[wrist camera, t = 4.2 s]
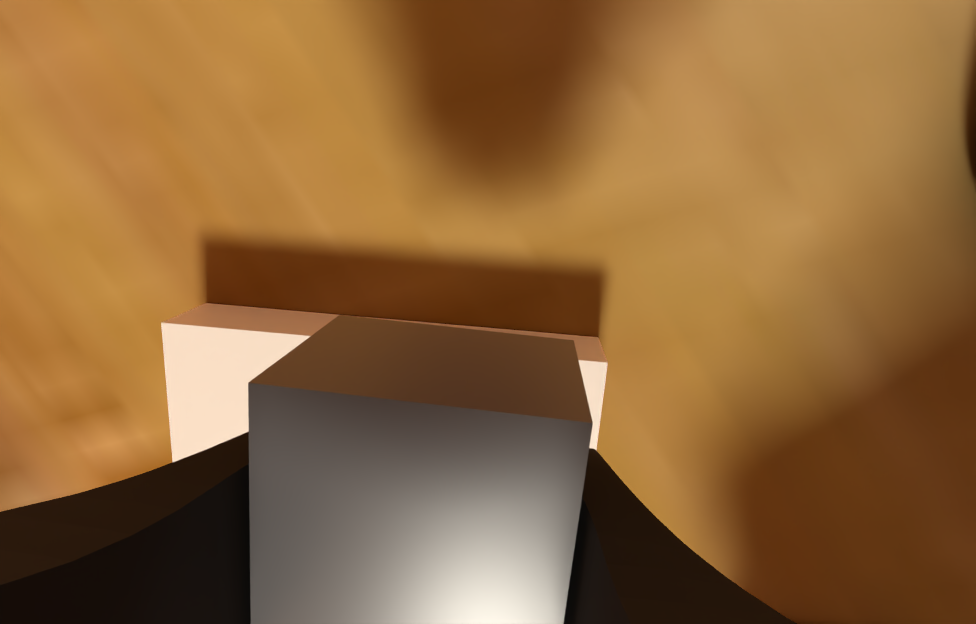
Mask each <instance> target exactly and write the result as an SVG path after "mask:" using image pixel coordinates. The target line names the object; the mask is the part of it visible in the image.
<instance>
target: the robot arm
mask: <svg viewBox="0 0 976 624" xmlns="http://www.w3.org/2000/svg"><path fill="white" fill-rule="evenodd" d="M0 624H251V601H250V509H249V432H246V433H244V434H241V435H239V436H237V437H234V438H232V439H230V440H227V441H225V442H223V443H220V444H218V445H216V446H213V447H211V448H209V449H206V450H204V451H201V452H198V453H196V454H193V455H191V456H188V457H185V458H183V459H180V460H178V461H175V462H172V463H170V464H167V465H165V466H162V467H159V468H157V469H154V470H152V471H149V472H146V473H143V474H140V475H137V476H134V477H131V478H128V479H125V480H122V481H119V482H115V483H112V484H109V485H105V486H102V487H99V488H95V489H92V490H88V491H85V492H81V493H78V494H74V495H70V496H66V497H62V498H58V499H53V500H49V501H45V502H40V503H36V504H32V505H28V506H23V507H19V508H15V509H11V510H6V511H2V512H0ZM563 624H796V623H795V622H793V621H791V620H790V619H788V618H786V617H785V616H783V615H781V614H780V613H778V612H777V611H775V610H774V609H772V608H771V607H769V606H768V605H766V604H765V603H763V602H762V601H760V600H759V599H757V598H756V597H754V596H753V595H751V594H749V593H748V592H746V591H745V590H743V589H742V588H741V587H739V586H738V585H736V584H735V583H734V582H732V581H731V580H729V579H728V578H727V577H725V576H724V575H723V574H721V573H720V572H719V571H718V570H716V569H715V568H714V567H713V566H711V565H710V564H709V563H707V562H706V561H705V560H704V559H702V558H701V557H700V556H699V555H697V554H696V553H695V552H694V551H692V550H691V549H690V548H689V547H688V546H687V545H685V544H684V543H683V542H682V541H681V540H680V539H679V538H677V537H676V536H675V535H674V534H673V533H672V532H671V531H670V530H669V529H668V528H667V527H666V526H665V525H664V524H663V523H662V522H660V521H659V520H658V519H657V518H656V517H655V516H654V515H653V514H652V513H651V512H650V511H649V510H648V509H647V508H646V507H645V506H644V504H643V503H642V502H641V501H640V500H639V499H638V498H637V497H636V496H635V495H634V494H633V493H632V492H631V490H630V489H629V488H628V487H627V486H626V485H625V484H624V483H623V481H622V480H621V479H620V478H619V477H618V476H617V474H616V473H615V472H614V471H613V470H612V469H611V467H610V466H609V465H608V464H607V463H606V461H605V460H604V459H603V458H602V457H601V455H600V454H599V453H598V452H597V451H596V450H595V449H592V448H589V453H588V459H587V466H586V473H585V480H584V487H583V493H582V500H581V507H580V514H579V521H578V527H577V534H576V541H575V548H574V555H573V561H572V568H571V575H570V582H569V589H568V595H567V602H566V609H565V616H564V623H563Z"/></svg>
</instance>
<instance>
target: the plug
mask: <svg viewBox="0 0 976 624" xmlns="http://www.w3.org/2000/svg"><path fill="white" fill-rule="evenodd" d="M248 418H249V509H250V601H251V624H563V623H564V616H565V609H566V602H567V595H568V589H569V582H570V575H571V568H572V561H573V555H574V548H575V541H576V534H577V527H578V521H579V514H580V507H581V500H582V493H583V487H584V480H585V473H586V466H587V459H588V453H589V446H590V439H591V432H592V425H593V421H592V417H591V413H590V408H589V404H588V400H587V396H586V391H585V387H584V383H583V378H582V374H581V370H580V365H579V361H578V357H577V352H576V348H575V344H574V340H566V339H557V338H548V337H539V336H530V335H521V334H512V333H503V332H493V331H484V330H475V329H466V328H457V327H448V326H439V325H429V324H420V323H411V322H402V321H393V320H384V319H375V318H366V317H356V316H347V315H339V316H337V317H336V318H335V319H333V320H332V321H331V322H329V323H328V324H327V325H325V326H324V327H322V328H321V329H320V330H318V331H317V332H316V333H314V334H313V335H312V336H310V337H309V338H308V339H306V340H305V341H304V342H302V343H301V344H300V345H298V346H297V347H296V348H294V349H293V350H292V351H290V352H289V353H287V354H286V355H285V356H283V357H282V358H281V359H279V360H278V361H277V362H275V363H274V364H273V365H271V366H270V367H269V368H267V369H266V370H265V371H263V372H262V373H261V374H259V375H258V376H256V377H255V378H254V379H252V380H251V381H250V382H248Z"/></svg>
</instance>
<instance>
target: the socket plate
mask: <svg viewBox="0 0 976 624" xmlns="http://www.w3.org/2000/svg"><path fill="white" fill-rule="evenodd" d="M337 316H339V315H337V314H326V313H314V312H303V311H292V310H280V309H269V308H257V307H246V306H234V305H223V304H211V303H205V304H203V305H200V306H198V307H196V308H194V309H191V310H189V311H187V312H184V313H182V314H180V315H178V316H175V317H173V318H171V319H169V320H166V321H164V322H162V323H161V325H162V338H163V350H164V362H165V374H166V386H167V398H168V410H169V423H170V435H171V447H172V459H173V462H175V461H178V460H180V459H183V458H185V457H188V456H191V455H193V454H196V453H198V452H201V451H204V450H206V449H209V448H211V447H213V446H216V445H218V444H220V443H223V442H225V441H227V440H230V439H232V438H234V437H237V436H239V435H241V434H244V433H246V432H249V418H248V382H250V381H251V380H252V379H254V378H255V377H256V376H258V375H259V374H261V373H262V372H263V371H265V370H266V369H267V368H269V367H270V366H271V365H273V364H274V363H275V362H277V361H278V360H279V359H281V358H282V357H283V356H285V355H286V354H287V353H289V352H290V351H292V350H293V349H294V348H296V347H297V346H298V345H300V344H301V343H302V342H304V341H305V340H306V339H308V338H309V337H310V336H312V335H313V334H314V333H316V332H317V331H318V330H320V329H321V328H322V327H324V326H325V325H327V324H328V323H329V322H331V321H332V320H333V319H335V318H336V317H337ZM347 316H349V315H347ZM356 317H360V316H356ZM366 318H372V317H366ZM375 319H383V318H375ZM384 320H393V321H402V322H411V323H420V324H429V325H439V326H448V327H457V328H466V329H475V330H484V331H493V332H503V333H512V334H521V335H530V336H539V337H548V338H557V339H566V340H574V344H575V348H576V352H577V357H578V361H579V365H580V370H581V374H582V378H583V383H584V387H585V391H586V396H587V400H588V404H589V408H590V413H591V417H592V421H593V425H592V432H591V439H590V446H589V448H592V449H595V450H596V449H597V441H598V433H599V426H600V418H601V410H602V403H603V395H604V387H605V379H606V372H607V364H608V362H607V359H606V357H605V354H604V351H603V348H602V346H601V343H600V340H599V337H590V336H578V335H567V334H555V333H544V332H532V331H521V330H509V329H498V328H487V327H475V326H464V325H452V324H441V323H429V322H418V321H406V320H395V319H384Z"/></svg>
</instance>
